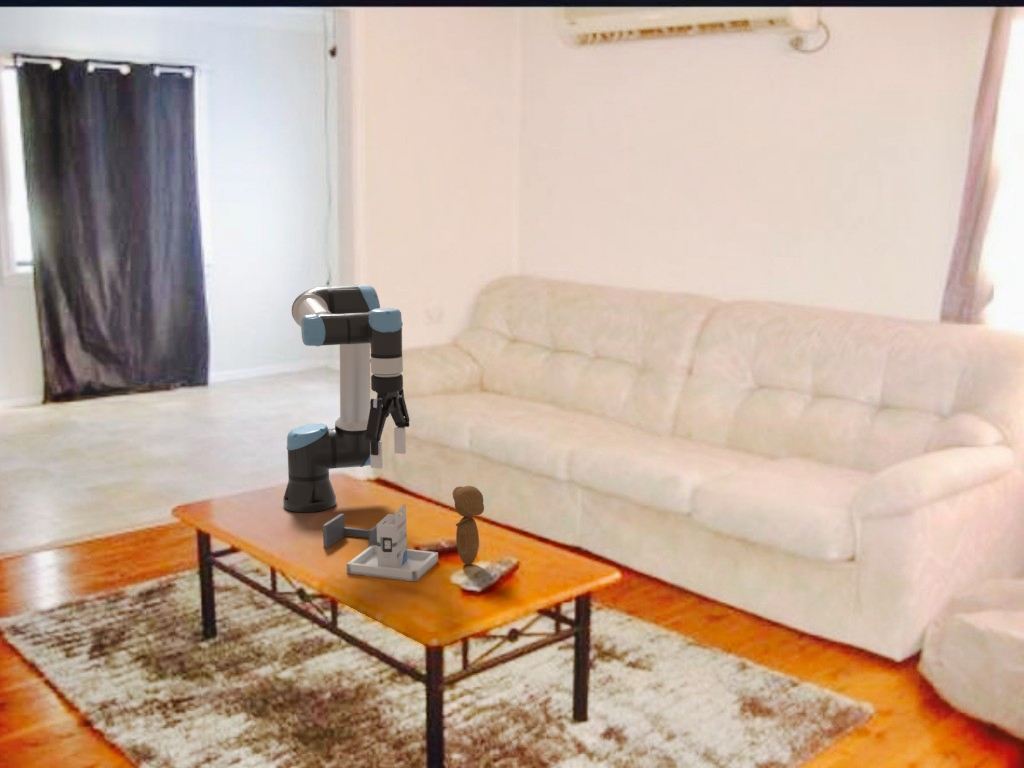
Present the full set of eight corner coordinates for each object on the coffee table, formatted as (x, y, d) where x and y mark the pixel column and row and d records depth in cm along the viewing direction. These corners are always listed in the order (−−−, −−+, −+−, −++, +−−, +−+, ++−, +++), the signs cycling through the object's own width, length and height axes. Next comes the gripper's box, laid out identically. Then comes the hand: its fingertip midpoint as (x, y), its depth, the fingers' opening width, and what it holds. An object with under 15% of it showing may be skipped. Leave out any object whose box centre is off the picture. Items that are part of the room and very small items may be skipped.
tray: (372, 553, 262) (371, 544, 262) (438, 561, 257) (437, 552, 256) (346, 573, 249) (346, 563, 249) (415, 581, 244) (415, 572, 243)
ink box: (388, 558, 257) (387, 501, 255) (407, 559, 256) (406, 502, 254) (377, 570, 249) (375, 511, 246) (396, 572, 248) (395, 513, 245)
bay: (343, 533, 277) (342, 512, 276) (391, 539, 273) (390, 517, 272) (323, 547, 267) (322, 525, 266) (373, 553, 263) (372, 530, 262)
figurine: (465, 556, 260) (464, 479, 257) (490, 561, 257) (490, 483, 253) (447, 568, 253) (446, 489, 249) (472, 573, 249) (472, 493, 246)
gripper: (394, 363, 258) (395, 446, 262) (348, 382, 235) (351, 472, 239) (421, 365, 256) (423, 448, 260) (378, 384, 233) (380, 475, 237)
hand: (388, 460), depth 250 cm, fingers open, 13 cm apart
